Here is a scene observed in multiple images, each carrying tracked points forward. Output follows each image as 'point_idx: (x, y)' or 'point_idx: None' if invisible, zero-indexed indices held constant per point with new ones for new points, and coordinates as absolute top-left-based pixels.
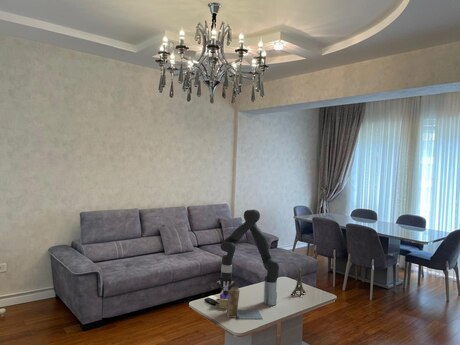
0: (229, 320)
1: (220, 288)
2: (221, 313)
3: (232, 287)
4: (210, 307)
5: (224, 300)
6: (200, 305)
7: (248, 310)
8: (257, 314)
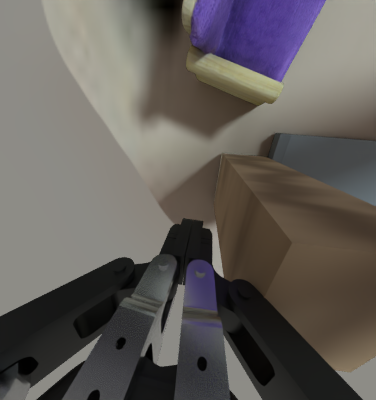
0: (213, 225)
1: (105, 302)
2: (194, 163)
3: (326, 285)
4: (146, 78)
5: (224, 84)
6: (89, 40)
7: (357, 150)
8: (372, 203)
